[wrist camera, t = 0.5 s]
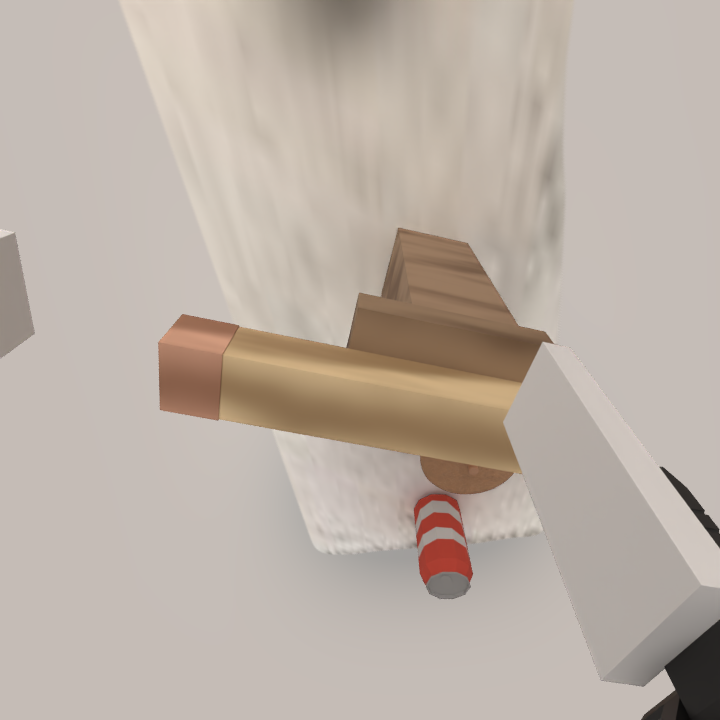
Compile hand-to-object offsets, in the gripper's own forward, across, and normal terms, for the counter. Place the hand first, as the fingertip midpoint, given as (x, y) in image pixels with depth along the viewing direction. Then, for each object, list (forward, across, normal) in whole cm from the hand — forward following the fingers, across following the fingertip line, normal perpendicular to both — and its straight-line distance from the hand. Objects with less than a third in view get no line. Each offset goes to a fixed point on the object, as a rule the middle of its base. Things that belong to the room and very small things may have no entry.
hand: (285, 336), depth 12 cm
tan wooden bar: (+11, +5, -8) cm, 15 cm away
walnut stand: (+34, +8, -9) cm, 35 cm away
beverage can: (+33, +21, -42) cm, 57 cm away
